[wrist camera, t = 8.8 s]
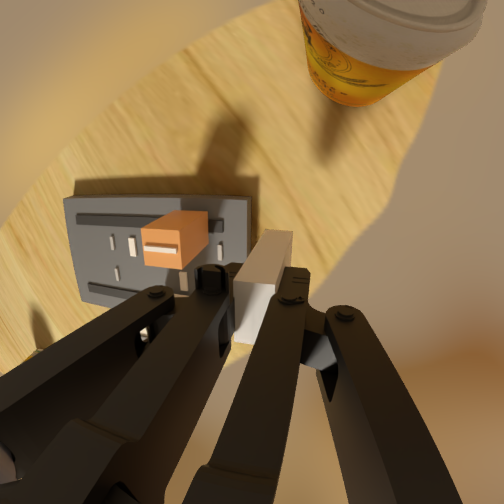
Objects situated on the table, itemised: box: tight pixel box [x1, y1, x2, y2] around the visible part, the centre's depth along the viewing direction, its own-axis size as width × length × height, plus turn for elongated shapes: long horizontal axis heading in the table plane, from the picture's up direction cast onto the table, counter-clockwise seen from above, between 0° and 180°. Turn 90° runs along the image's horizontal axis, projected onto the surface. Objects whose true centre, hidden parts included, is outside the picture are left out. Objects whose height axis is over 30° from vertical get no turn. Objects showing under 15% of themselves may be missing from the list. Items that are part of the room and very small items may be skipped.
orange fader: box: [141, 210, 209, 270], centre depth 20 cm, size 3×2×5 cm
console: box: [63, 194, 251, 308], centre depth 25 cm, size 18×11×2 cm, turn 90°
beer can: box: [298, 0, 487, 107], centre depth 11 cm, size 6×6×15 cm
